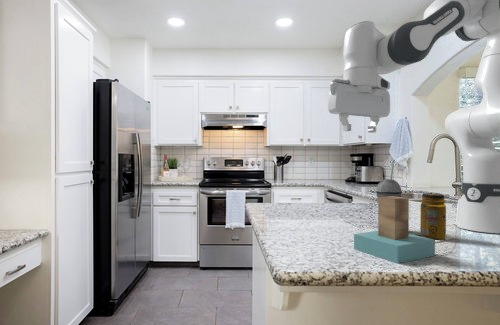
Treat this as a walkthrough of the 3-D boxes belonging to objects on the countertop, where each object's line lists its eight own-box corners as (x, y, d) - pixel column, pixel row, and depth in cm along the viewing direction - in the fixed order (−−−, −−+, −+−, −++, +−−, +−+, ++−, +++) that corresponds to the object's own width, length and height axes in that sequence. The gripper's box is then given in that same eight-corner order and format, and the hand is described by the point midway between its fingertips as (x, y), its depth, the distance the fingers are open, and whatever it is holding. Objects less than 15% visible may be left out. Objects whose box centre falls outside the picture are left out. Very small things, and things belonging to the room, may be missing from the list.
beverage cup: (373, 227, 100) (373, 164, 100) (397, 228, 99) (397, 164, 99) (379, 232, 93) (379, 164, 93) (405, 233, 92) (405, 164, 92)
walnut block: (391, 233, 75) (391, 196, 75) (408, 237, 71) (408, 198, 71) (378, 235, 73) (378, 197, 73) (394, 240, 69) (394, 199, 69)
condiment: (452, 238, 85) (452, 194, 85) (436, 243, 81) (436, 196, 81) (425, 233, 92) (425, 192, 92) (409, 237, 87) (409, 193, 87)
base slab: (389, 243, 80) (389, 229, 80) (434, 255, 70) (434, 239, 70) (353, 248, 75) (353, 234, 75) (397, 263, 64) (397, 246, 64)
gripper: (339, 74, 81) (339, 128, 81) (394, 83, 90) (394, 132, 90) (322, 80, 86) (322, 131, 86) (376, 88, 95) (376, 134, 95)
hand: (359, 131), depth 88 cm, fingers open, 8 cm apart
